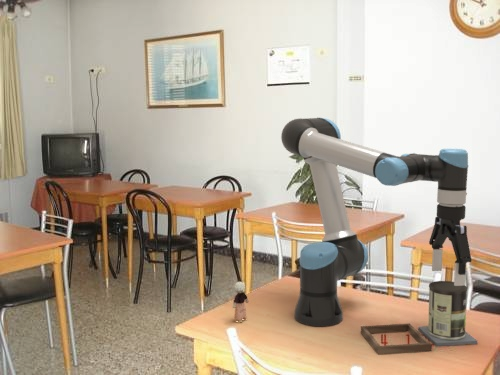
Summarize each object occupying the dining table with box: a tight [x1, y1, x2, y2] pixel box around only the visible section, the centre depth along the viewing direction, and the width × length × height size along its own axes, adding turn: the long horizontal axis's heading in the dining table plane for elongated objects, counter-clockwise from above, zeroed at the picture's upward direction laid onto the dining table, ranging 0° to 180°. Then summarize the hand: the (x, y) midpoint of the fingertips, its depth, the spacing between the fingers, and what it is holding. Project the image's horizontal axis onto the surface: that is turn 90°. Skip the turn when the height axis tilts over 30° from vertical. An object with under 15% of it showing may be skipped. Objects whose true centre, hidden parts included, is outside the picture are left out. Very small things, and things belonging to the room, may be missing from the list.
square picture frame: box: [360, 322, 433, 355], centre depth 153 cm, size 15×15×2 cm
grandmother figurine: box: [232, 281, 249, 323], centre depth 170 cm, size 8×4×13 cm, turn 156°
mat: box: [417, 325, 478, 348], centre depth 156 cm, size 12×12×1 cm
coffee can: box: [427, 280, 468, 340], centre depth 155 cm, size 10×10×14 cm
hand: (447, 277), depth 154 cm, fingers open, 13 cm apart
